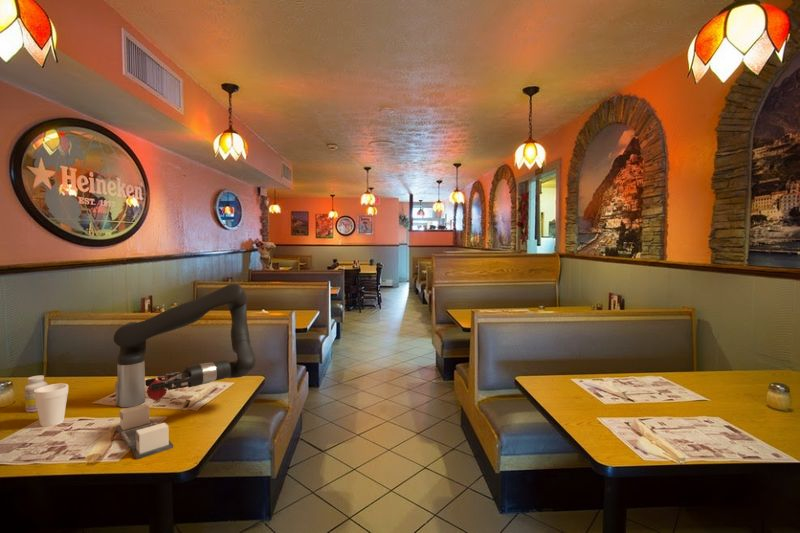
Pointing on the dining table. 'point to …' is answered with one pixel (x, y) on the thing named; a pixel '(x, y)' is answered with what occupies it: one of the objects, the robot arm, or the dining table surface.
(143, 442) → the mounted modules
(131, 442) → the mounting plate
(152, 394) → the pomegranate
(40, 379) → the supplement bottle
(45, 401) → the foam cup
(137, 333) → the robot arm
